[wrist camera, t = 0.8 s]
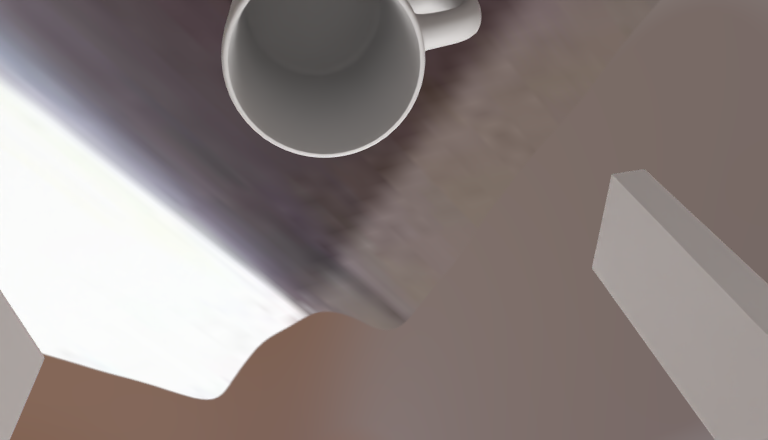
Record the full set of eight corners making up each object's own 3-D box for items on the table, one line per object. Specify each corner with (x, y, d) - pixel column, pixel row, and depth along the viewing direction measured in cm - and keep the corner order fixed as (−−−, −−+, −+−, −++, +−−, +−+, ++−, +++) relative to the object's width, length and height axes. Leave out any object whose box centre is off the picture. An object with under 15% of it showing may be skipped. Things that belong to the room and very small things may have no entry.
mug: (260, 88, 34) (253, 177, 25) (215, -65, 29) (186, -21, 20) (450, 49, 34) (510, 124, 25) (438, -107, 29) (508, -83, 20)
